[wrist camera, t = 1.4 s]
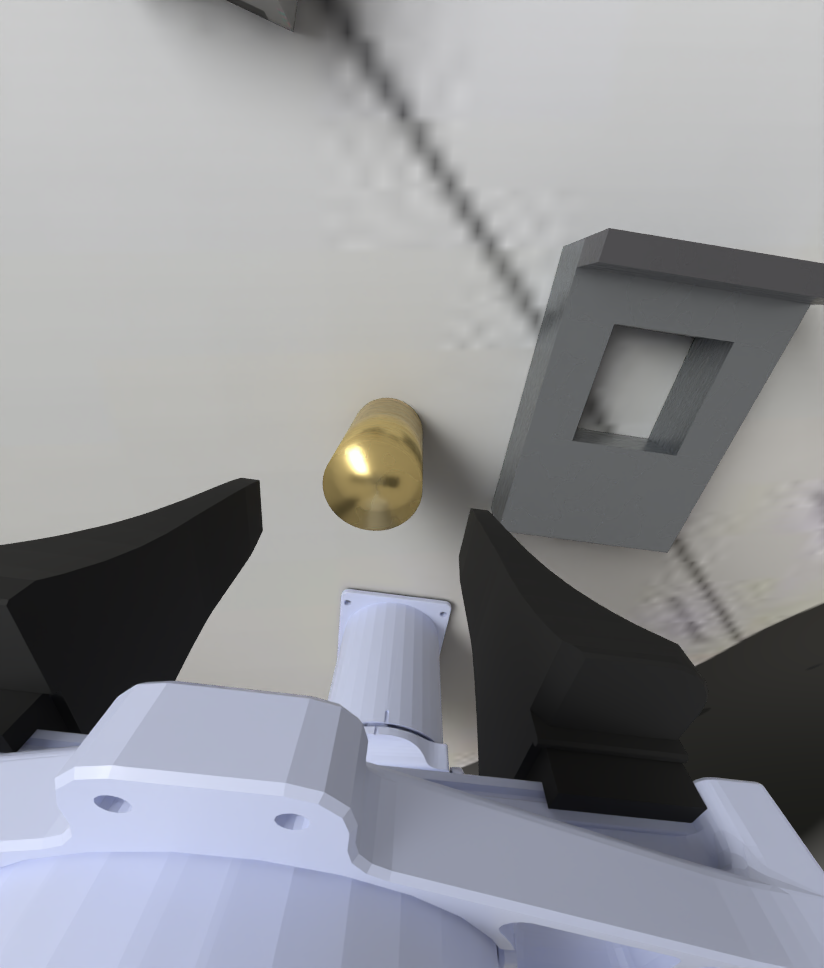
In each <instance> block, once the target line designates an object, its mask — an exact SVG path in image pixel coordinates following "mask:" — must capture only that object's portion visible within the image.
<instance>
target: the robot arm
mask: <svg viewBox="0 0 824 968" xmlns="http://www.w3.org/2000/svg"><path fill="white" fill-rule="evenodd" d="M262 531H263V527H262V512H261V497H260V482H259V480H254V479H246V478H239V479H235V480H232V481H230V482H227V483H224V484H222V485H219V486H217V487H214V488H212V489H210V490H207V491H205V492H202V493H200V494H197V495H195V496H192V497H190V498H187V499H185V500H182V501H179V502H177V503H174V504H171V505H168V506H166V507H163V508H160V509H158V510H155V511H152V512H149V513H146V514H143V515H140V516H136V517H133V518H130V519H126V520H123V521H119V522H116V523H112V524H108V525H104V526H100V527H95V528H91V529H87V530H82V531H78V532H73V533H69V534H64V535H59V536H54V537H49V538H43V539H38V540H31V541H25V542H19V543H13V544H6V545H0V968H824V872H823V870H822V869H821V867H820V866H819V865H818V863H817V862H816V860H815V859H814V857H813V856H812V855H811V853H810V852H809V850H808V849H807V848H806V846H805V845H804V843H803V842H802V840H801V839H800V837H799V836H798V835H797V833H796V832H795V830H794V829H793V828H792V826H791V825H790V823H789V822H788V821H787V819H786V818H785V816H784V815H783V813H782V812H781V810H780V809H779V808H778V806H777V805H776V803H775V802H774V801H773V799H772V798H771V796H770V795H769V793H768V792H767V790H766V789H765V788H764V786H763V785H762V784H759V783H757V782H751V781H742V780H732V779H723V778H714V777H711V778H710V777H708V778H701V779H697V780H694V781H693V782H692V780H691V778H690V776H689V774H688V773H687V771H686V769H685V767H684V766H683V764H682V763H686V762H687V761H688V754H687V752H686V751H685V749H684V747H683V746H682V744H681V742H680V740H679V737H680V736H681V735H682V734H683V733H684V732H685V730H686V729H687V728H688V727H689V725H690V724H691V723H692V722H693V721H694V720H695V719H696V718H697V716H698V715H699V714H700V712H701V711H702V709H703V707H704V706H705V704H706V701H707V695H708V688H707V685H706V682H705V680H704V678H703V677H702V676H701V675H700V673H699V672H698V670H697V669H696V668H695V666H694V665H693V664H692V662H691V661H690V660H689V658H688V657H687V656H686V654H685V653H684V651H683V650H682V649H681V647H680V646H679V645H678V644H676V643H674V642H672V641H669V640H667V639H665V638H663V637H661V636H659V635H657V634H655V633H652V632H650V631H648V630H646V629H644V628H642V627H640V626H637V625H635V624H634V623H632V622H630V621H628V620H626V619H624V618H622V617H620V616H619V615H617V614H615V613H613V612H611V611H609V610H608V609H606V608H604V607H603V606H601V605H599V604H598V603H596V602H594V601H593V600H591V599H590V598H588V597H587V596H585V595H583V594H582V593H580V592H579V591H577V590H576V589H574V588H573V587H571V586H570V585H569V584H567V583H566V582H564V581H563V580H562V579H560V578H559V577H558V576H557V575H555V574H554V573H553V572H551V571H550V570H549V569H548V568H546V567H545V566H544V565H543V564H542V563H540V562H539V561H538V560H537V559H536V558H535V557H534V556H533V555H532V554H530V553H529V552H528V551H527V550H526V549H525V548H524V547H523V546H522V545H521V544H520V543H519V542H518V541H517V540H516V539H515V538H514V537H513V536H512V535H511V534H510V533H509V532H508V531H507V530H506V529H505V527H504V526H503V525H502V524H501V523H500V522H499V521H498V520H497V519H496V518H495V517H494V516H493V515H492V514H491V513H490V512H489V511H487V510H479V509H472V508H471V510H470V514H469V518H468V522H467V526H466V530H465V534H464V538H463V542H462V546H461V550H460V554H459V569H460V583H461V589H462V595H463V600H464V606H465V611H466V616H467V622H468V627H469V633H470V638H471V645H472V653H473V666H474V679H475V695H476V711H477V733H478V759H479V776H477V775H468V774H464V772H463V770H462V769H461V768H460V767H450V771H449V762H448V746H447V744H443V728H442V706H441V684H440V662H439V656H440V652H441V648H442V644H443V640H444V636H445V632H446V628H447V624H448V620H449V617H450V613H451V604H450V603H449V602H448V601H442V600H434V599H426V598H418V597H410V596H402V595H393V594H385V593H377V592H369V591H361V590H353V589H346V590H344V591H343V592H342V595H341V608H340V624H339V640H338V656H337V663H336V667H335V671H334V676H333V680H332V684H331V688H330V692H329V696H328V700H324V699H320V698H316V697H313V696H306V695H297V694H288V693H279V692H270V691H261V690H252V689H243V688H234V687H225V686H216V685H207V684H198V683H189V682H180V681H175V680H176V678H177V676H178V674H179V672H180V670H181V668H182V666H183V664H184V662H185V660H186V658H187V656H188V654H189V652H190V650H191V648H192V646H193V645H194V643H195V641H196V639H197V637H198V635H199V634H200V632H201V630H202V628H203V626H204V624H205V623H206V621H207V619H208V618H209V616H210V614H211V613H212V611H213V610H214V608H215V607H216V605H217V604H218V602H219V601H220V599H221V598H222V596H223V595H224V594H225V592H226V591H227V589H228V588H229V586H230V585H231V583H232V582H233V581H234V579H235V578H236V576H237V575H238V573H239V572H240V570H241V569H242V567H243V566H244V565H245V563H246V562H247V560H248V559H249V557H250V556H251V554H252V552H253V550H254V548H255V546H256V544H257V542H258V540H259V538H260V535H261V533H262ZM346 600H349V602H348V601H346ZM441 612H445V613H441Z"/></svg>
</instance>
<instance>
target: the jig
mask: <svg viewBox="0 0 824 968" xmlns="http://www.w3.org/2000/svg"><path fill="white" fill-rule="evenodd" d="M810 305H824V264H823V263H817V262H811V261H805V260H799V259H793V258H787V257H781V256H775V255H769V254H763V253H756V252H750V251H744V250H738V249H732V248H726V247H720V246H714V245H708V244H702V243H696V242H690V241H684V240H678V239H672V238H666V237H659V236H653V235H647V234H641V233H635V232H629V231H623V230H617V229H611V228H609V229H606V230H604V231H601V232H599V233H596V234H594V235H591V236H589V237H586V238H584V239H581V240H579V241H576V242H574V243H571V244H569V245H566V246H564V247H563V250H562V254H561V257H560V261H559V264H558V268H557V272H556V275H555V279H554V282H553V286H552V290H551V293H550V297H549V301H548V304H547V308H546V311H545V315H544V319H543V322H542V326H541V329H540V333H539V337H538V340H537V344H536V348H535V351H534V355H533V358H532V362H531V366H530V369H529V373H528V376H527V380H526V384H525V387H524V391H523V394H522V398H521V402H520V405H519V409H518V413H517V416H516V420H515V423H514V427H513V431H512V434H511V438H510V441H509V445H508V449H507V452H506V456H505V460H504V463H503V467H502V470H501V474H500V478H499V481H498V485H497V488H496V492H495V496H494V499H493V503H492V506H491V509H492V512H493V515H494V517H495V518H496V519H497V520H498V521H499V522H500V523H501V524H502V525H503V526H504V527H505V529H506V530H507V531H508V532H514V533H522V534H529V535H537V536H544V537H552V538H560V539H567V540H575V541H582V542H590V543H598V544H605V545H613V546H621V547H628V548H636V549H643V550H651V551H659V552H666V553H668V551H669V549H670V547H671V546H672V544H673V542H674V540H675V539H676V537H677V535H678V534H679V532H680V530H681V528H682V527H683V525H684V523H685V521H686V520H687V518H688V516H689V514H690V513H691V511H692V509H693V507H694V506H695V504H696V502H697V501H698V499H699V497H700V495H701V494H702V492H703V490H704V488H705V487H706V485H707V483H708V481H709V480H710V478H711V476H712V475H713V473H714V471H715V469H716V468H717V466H718V464H719V462H720V461H721V459H722V457H723V455H724V454H725V452H726V450H727V449H728V447H729V445H730V443H731V442H732V440H733V438H734V436H735V435H736V433H737V431H738V429H739V428H740V426H741V424H742V423H743V421H744V419H745V417H746V416H747V414H748V412H749V410H750V409H751V407H752V405H753V403H754V402H755V400H756V398H757V397H758V395H759V393H760V391H761V390H762V388H763V386H764V384H765V383H766V381H767V379H768V377H769V376H770V374H771V372H772V370H773V369H774V367H775V365H776V364H777V362H778V360H779V358H780V357H781V355H782V353H783V351H784V350H785V348H786V346H787V344H788V343H789V341H790V339H791V338H792V336H793V334H794V332H795V331H796V329H797V327H798V325H799V324H800V322H801V320H802V318H803V317H804V315H805V313H806V312H807V310H808V308H809V306H810ZM614 325H619V326H626V327H632V328H639V329H645V330H652V331H658V332H664V333H671V334H677V335H684V336H690V337H695V339H694V341H693V343H692V346H691V348H690V350H689V352H688V354H687V356H686V359H685V361H684V363H683V365H682V367H681V369H680V372H679V374H678V376H677V378H676V380H675V382H674V385H673V387H672V389H671V391H670V393H669V395H668V398H667V400H666V402H665V404H664V406H663V408H662V410H661V413H660V415H659V417H658V419H657V421H656V423H655V426H654V428H653V430H652V432H651V434H650V436H649V439H646V438H639V437H632V436H625V435H618V434H611V433H604V432H597V431H590V430H583V429H577V426H578V423H579V420H580V418H581V415H582V412H583V409H584V407H585V404H586V401H587V398H588V395H589V393H590V390H591V387H592V384H593V382H594V379H595V376H596V373H597V371H598V368H599V365H600V362H601V359H602V357H603V354H604V351H605V348H606V346H607V343H608V340H609V337H610V335H611V332H612V329H613V326H614Z"/></svg>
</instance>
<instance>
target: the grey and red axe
mask: <svg viewBox="0 0 824 968" xmlns="http://www.w3.org/2000/svg"><path fill="white" fill-rule="evenodd" d="M227 1H229V2H231V3H233V4H235V5H238V6H240V7H242V8H244V9H246V10H248V11H250V12H252V13H255V14H257V15H259V16H261V17H263V18H265V19H267V20H269V21H272V22H274V23H276V24H278V25H280V26H282V27H284V28H286V29H289V30H291V31H293V30H294V23H295V15H296V8H297V0H227Z"/></svg>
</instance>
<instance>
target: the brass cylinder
mask: <svg viewBox="0 0 824 968" xmlns="http://www.w3.org/2000/svg"><path fill="white" fill-rule="evenodd" d="M422 475H423V429H422V424H421V421H420V419H419V417H418V415H417V413H416V412H415V411H414V410H413V409H412V408H411V407H410V406H409V405H407V404H406V403H404V402H402V401H400V400H397V399H393V398H381V399H376V400H373V401H371V402H369V403H368V404H366V405H365V406H364V407H363V408H362V409H361V410H360V411H359V413H358V414H357V416H356V418H355V419H354V421H353V423H352V424H351V426H350V428H349V430H348V431H347V433H346V435H345V436H344V438H343V440H342V441H341V443H340V445H339V446H338V448H337V450H336V451H335V453H334V455H333V457H332V458H331V460H330V462H329V463H328V465H327V467H326V469H325V472H324V476H323V491H324V495H325V498H326V500H327V502H328V504H329V506H330V507H331V509H332V510H333V511H334V513H335V514H336V515H337V516H338V517H340V518H341V519H342V520H344V521H345V522H347V523H348V524H350V525H352V526H355V527H357V528H361V529H365V530H373V531H379V530H387V529H391V528H394V527H396V526H399V525H400V524H402V523H404V522H405V521H407V520H408V519H409V518H410V517H411V516H412V515H413V514H414V513H415V511H416V510H417V508H418V506H419V504H420V501H421V497H422Z"/></svg>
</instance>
